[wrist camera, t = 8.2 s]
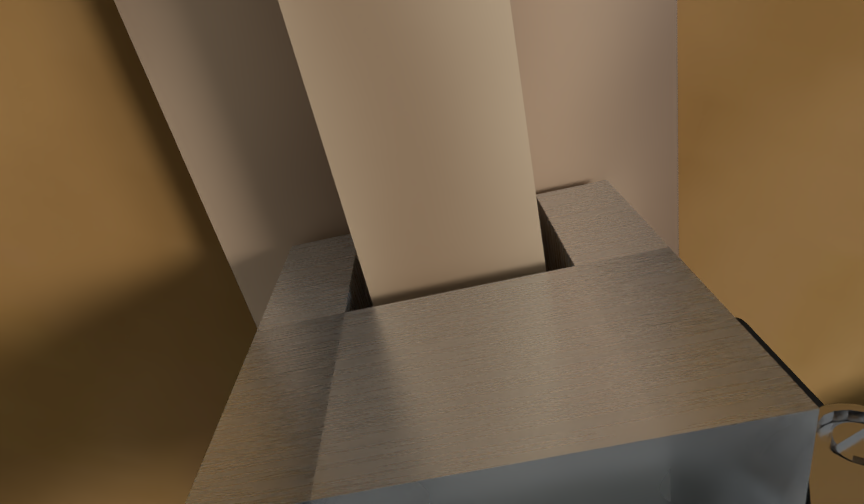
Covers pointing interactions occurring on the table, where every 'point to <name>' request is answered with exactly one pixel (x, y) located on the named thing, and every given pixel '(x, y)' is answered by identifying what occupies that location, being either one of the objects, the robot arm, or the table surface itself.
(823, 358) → the table surface
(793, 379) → the robot arm
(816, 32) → the table surface
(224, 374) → the table surface
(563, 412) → the grey sliding block
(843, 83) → the table surface
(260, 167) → the rail bed
